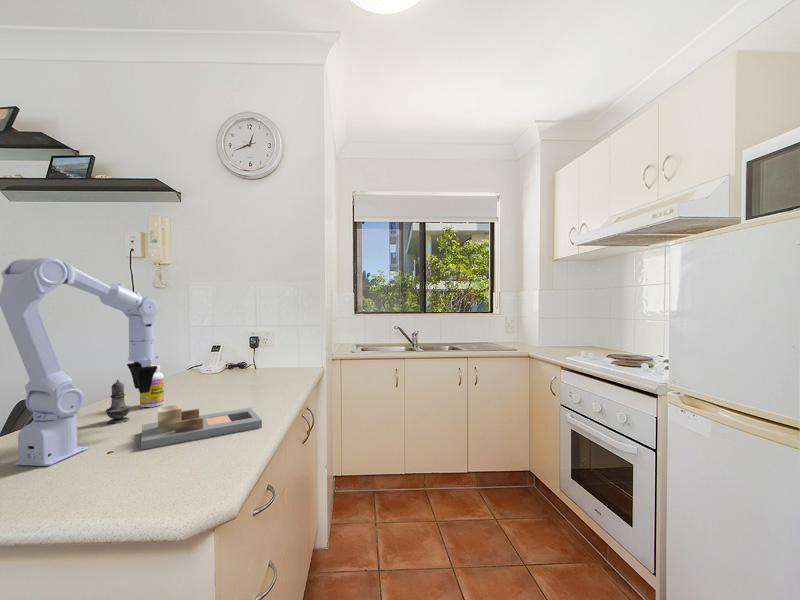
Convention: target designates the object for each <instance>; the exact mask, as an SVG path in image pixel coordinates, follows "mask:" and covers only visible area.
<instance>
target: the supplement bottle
mask: <svg viewBox="0 0 800 600" xmlns="http://www.w3.org/2000/svg"><path fill="white" fill-rule="evenodd" d="M151 366H157V370H156V371H155V373H154V376H153V378H152V383H151V388H150V391H149V392H147V393H140V392H139V406H140V407H141V408H144V407H150V408H155V406H156V407H159V405H160V406H162V405H164V403H165V385H164V384H165V381H164V378H165V377H164V376H165V375H164V374H163V373H162V372H160V370H161V365H157V364H153V365H152V364H151Z"/></svg>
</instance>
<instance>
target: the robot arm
mask: <svg viewBox="0 0 800 600" xmlns="http://www.w3.org/2000/svg"><path fill="white" fill-rule="evenodd" d="M1 276H2V278H3V281H2V286H1V289H0V309H1V312H2V314H3V317H4V319H5V321H6V324H7V326H8V329H9V332H10V334H11V336H12V340H13V342H14V344H15V346H16V348H17V352H18V353H19V356H20V359H21V361H22V364H23V366H24V368H25V371H26V373H27V376H28V378H29V380H28V382H27V383H26V384H25V385H24V389H25V393H26V398H25V406H26V408H27V410H29V412H31V413H32V418H33V420H32V421H31V422H30V423H29V424H26V425H25V426H23V427H22V428H20V431H19V432H18V437H17V445H18V446H17V449H18V455H17V456H18V461H16V462H15V463H14V465H15V466H39V467H40V466H41V467H42V466H43V467H48V466H52V465H54V464H56V463H58V462H60V461H63V460H65V459H67V458H69V457H72V456H74V455H76V454H79V453H81V452H83V451H86V450H87V449H88V446H79V445H78V422H77V421H78V419H77V418H78V416H77V415H78V411H79V410H80V409H81V408H82V406H83V404H84V402H85V395H84V392H83V391H82V390H81V389H80V388H79V387H77V386H76V384H75V382H74V380H73V378H71V377H70V376H69V375H67V374H66V373H65V372H64V371H63V369H62V367H61V363H60V362H59V359H58V356H57V353H56V351H55V349H54V345H53V343H52V340H51V338H50V335H49V333H48V330H47V327H46V323H45V321H44V319H43V316H42V314H41V311H40V308H39V303H40V302H41V301H42V300H43V299H44V298H45V296H46V295H47V294H49V293H50V292H52V291H53V290H55V289H56V288H58V287H59V286H61V285H67V286H70V287H72V288H76V289H78V290H81V291H84V292H85V293H88V294H92V295H94V296H97V297H99V300H100V303H102V304H103V305H106V306H109V307H111V308H113V309H115V310H117V311H119V312H120V311H121V312H122V313H123V314H124V316H125V317H126V318H128V358H127V361H128V362H131V363H127V364H126V366H127V368H128V369H129V371H130V374H131V378H132V382H133V386H134V388H135V389H138V392H139V394H140V393H147V392H149V391H150V388H151V383H152V378H153V376H154V373H155V371H156V370H157V366H151V365H152V361H153V360H155V359H159V358H160V355H159V354H155V345H154V344H155V343H154V342H155V337H154V336H155V333H154V331H155V328H154V327H155V326H154V323H155V322H156V316H157V315H158V313H159V310H160V307H159V306H158V304H157V302H156V301H155V299H153V298H152V297H149V296H142V295H141V293H140V292H139V291H138V292H137V291H132V290H130V289H128V288H126V285H125V284H123V283H110V284H106V283H105V282H103V281H101V280H98V279H96V278H95V277H93V276H90V274H87V273H85V272H84V271H81V270H80V269H78V268H76V267H74V266H73V265H72V264H71V263H69V262H64V261H62V260H60V259H59V258H56V257H51V256H49V257H48V256H47V257H41V258H18V259H15V260H13V261H12V262H10V263H9V264H8V266H6V267H5V269H3V270H2V272H1ZM132 362H133V363H132Z"/></svg>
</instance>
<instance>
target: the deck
mask: <svg viewBox="0 0 800 600" xmlns="http://www.w3.org/2000/svg"><path fill="white" fill-rule="evenodd" d="M225 415H227V416H228V417H229V418H230V420H231V421H230V422H225V423H219V424H213V425H208V423H207V421H206V419H207V418H213V417H219V416H225ZM200 417H203V428H202V429H196V430H190V431H184V432H179V433H176V431H175V430H172V431H166V432H160V433H158V421H157V422H152V423H146V424H142V425H141V439H140V441H141V443H140V445H141V450H142V451H143V450H147V449H153V448H159V447H165V446H169V445H174V443H175V444H181V443H185V442H184V441H186V442H190V441H189V440H191V441H196V440H195V439H197V440H201V438H202V439H206V438H207V437H208V438H213V437H218V436H224V435H228V433H229V434H234V433H238V431H240V432H244V431H243V430H245V431H250V430H255V429H261V428H262V427H263V419H262V418H260V416H258V413H256V412H255V411H254V410H253V409H252V408H251V407H247V408H241V409H234V410H228V411H221V412H215V413H210V414H203V415H199V418H200ZM233 432H234V433H233ZM223 434H224V435H223ZM217 435H218V436H217ZM212 436H213V437H212ZM180 442H181V443H180Z"/></svg>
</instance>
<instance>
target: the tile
mask: <svg viewBox="0 0 800 600" xmlns="http://www.w3.org/2000/svg"><path fill="white" fill-rule="evenodd" d="M206 421H207V423H208V425H213V424H219V423H225V422H230V421H231V420H230V418H229V417H228V416H227V415H225V416H219V417H213V418H207V419H206Z"/></svg>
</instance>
